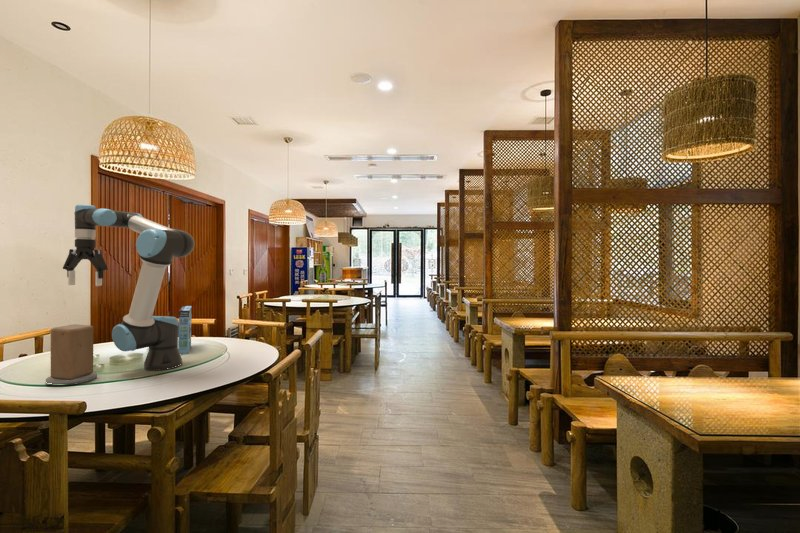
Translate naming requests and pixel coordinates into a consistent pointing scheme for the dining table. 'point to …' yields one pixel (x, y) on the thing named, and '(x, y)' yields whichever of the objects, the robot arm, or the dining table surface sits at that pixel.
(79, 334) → the wooden block
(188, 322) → the gum box
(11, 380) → the dining table surface
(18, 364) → the dining table surface
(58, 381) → the charcoal plate
